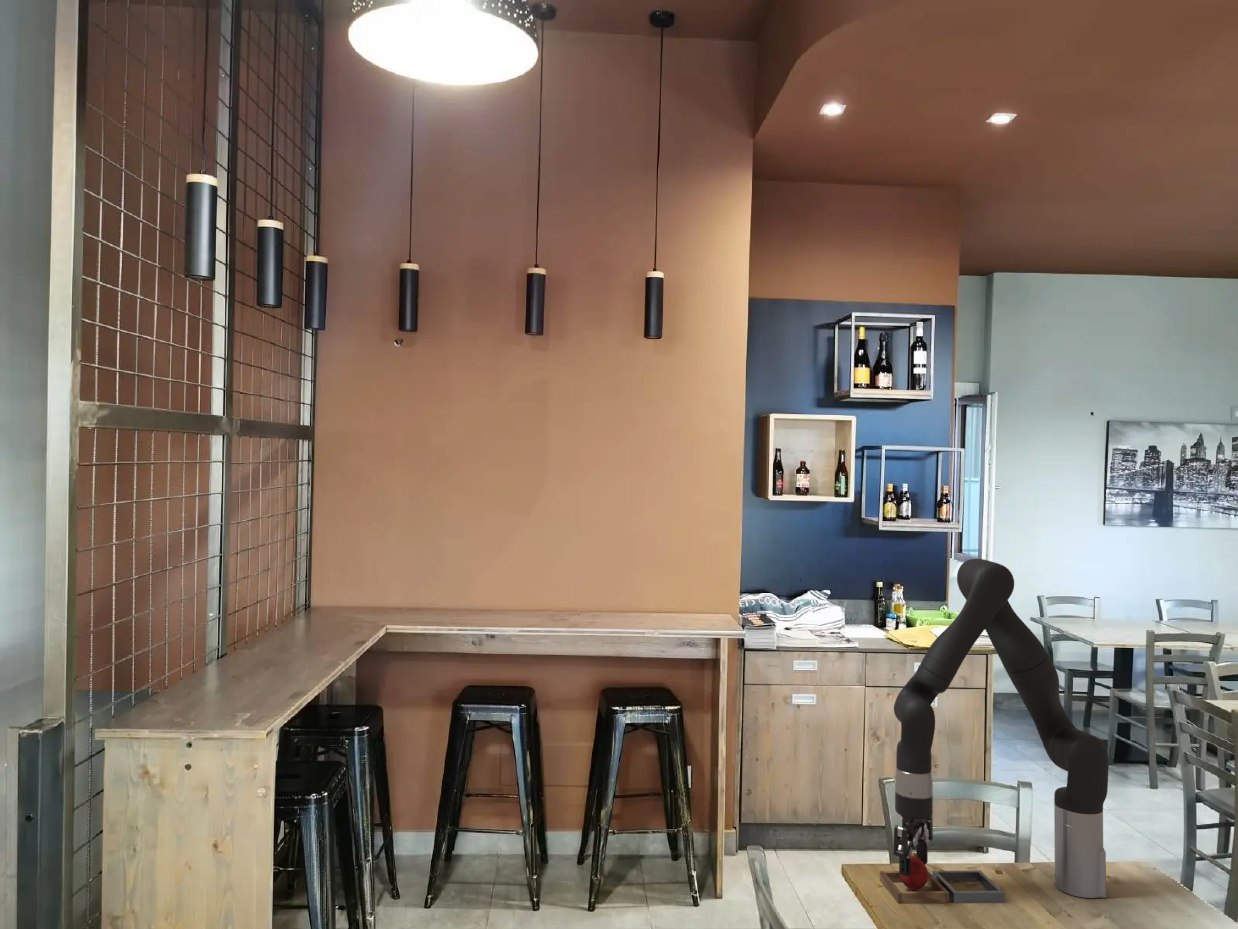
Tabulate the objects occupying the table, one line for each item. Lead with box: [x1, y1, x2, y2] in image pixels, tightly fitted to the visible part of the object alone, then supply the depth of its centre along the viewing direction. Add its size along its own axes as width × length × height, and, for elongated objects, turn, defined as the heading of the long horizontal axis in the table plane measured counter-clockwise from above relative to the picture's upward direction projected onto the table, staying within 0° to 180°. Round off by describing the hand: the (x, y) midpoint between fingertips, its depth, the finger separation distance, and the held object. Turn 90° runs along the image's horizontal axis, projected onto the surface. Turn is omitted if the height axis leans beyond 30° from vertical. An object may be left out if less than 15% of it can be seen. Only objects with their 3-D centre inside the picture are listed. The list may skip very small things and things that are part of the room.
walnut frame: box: [879, 870, 950, 904], centre depth 182 cm, size 11×11×2 cm
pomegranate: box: [899, 851, 929, 891], centre depth 183 cm, size 6×6×8 cm
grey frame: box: [932, 870, 1006, 904], centre depth 183 cm, size 11×11×2 cm
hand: (913, 869), depth 183 cm, fingers open, 8 cm apart
